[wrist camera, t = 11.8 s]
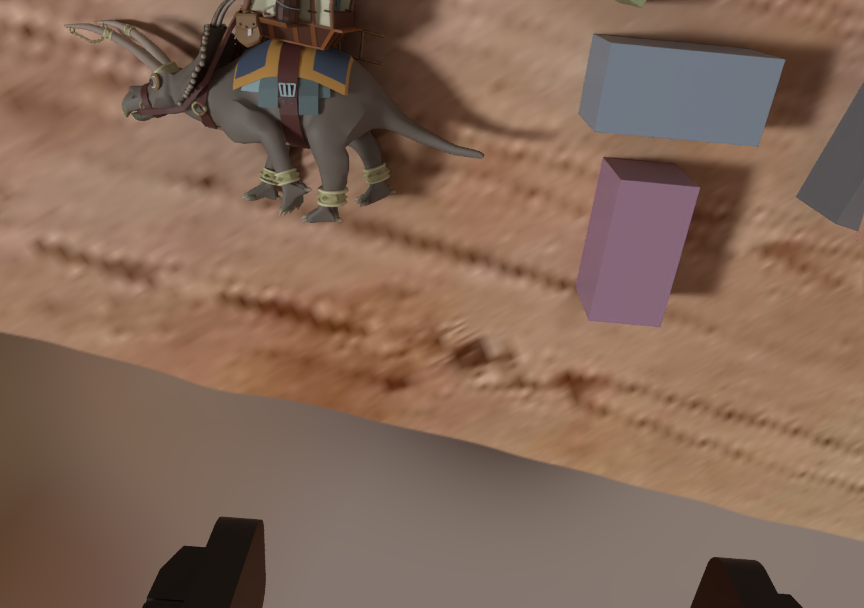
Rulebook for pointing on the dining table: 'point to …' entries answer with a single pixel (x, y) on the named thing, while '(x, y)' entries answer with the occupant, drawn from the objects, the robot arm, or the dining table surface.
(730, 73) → the slate blue brick
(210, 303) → the dining table surface
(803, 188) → the charcoal brick
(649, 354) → the dining table surface
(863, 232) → the terracotta brick
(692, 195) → the plum brick
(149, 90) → the figurine
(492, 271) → the dining table surface
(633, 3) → the olive brick
